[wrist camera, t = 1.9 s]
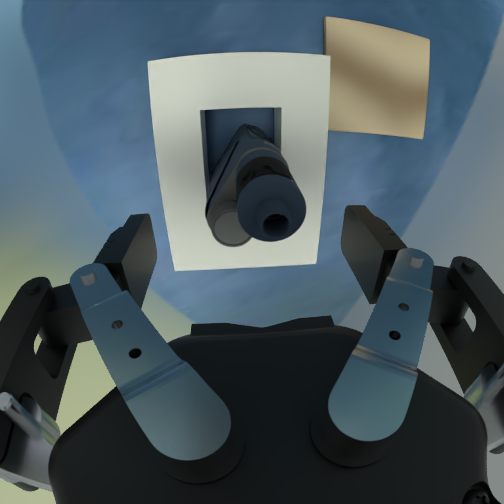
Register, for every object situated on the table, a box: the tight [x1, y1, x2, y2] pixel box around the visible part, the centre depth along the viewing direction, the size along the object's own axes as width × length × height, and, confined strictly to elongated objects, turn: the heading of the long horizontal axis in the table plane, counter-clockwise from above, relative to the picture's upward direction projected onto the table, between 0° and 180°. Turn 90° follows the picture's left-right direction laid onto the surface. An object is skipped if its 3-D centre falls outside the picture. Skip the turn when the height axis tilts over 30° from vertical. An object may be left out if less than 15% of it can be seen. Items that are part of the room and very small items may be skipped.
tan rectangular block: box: [323, 16, 430, 139], centre depth 17 cm, size 8×8×1 cm
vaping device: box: [205, 124, 306, 247], centre depth 15 cm, size 3×5×12 cm, turn 148°
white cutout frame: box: [148, 52, 330, 271], centre depth 19 cm, size 14×10×3 cm
